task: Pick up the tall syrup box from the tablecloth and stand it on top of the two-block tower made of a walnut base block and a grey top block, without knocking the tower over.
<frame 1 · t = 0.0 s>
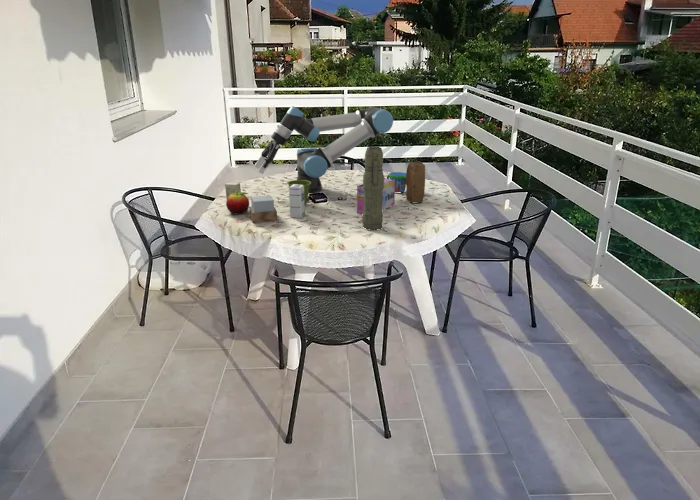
hand: (258, 170, 267), 15 cm above the table, tool tilted 35°, fingers open, 13 cm apart
base block: (263, 219, 240), on the table, touching top block
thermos: (372, 227, 229), on the table
skincare box: (234, 208, 257), on the table
syrup box: (297, 216, 245), on the table
snack cup: (397, 192, 288), on the table
plant pot: (299, 204, 263), on the table
block: (414, 201, 270), on the table
gum box: (376, 210, 256), on the table
fruit: (238, 213, 249), on the table
top block: (262, 209, 239), point 5 cm above the table, touching base block
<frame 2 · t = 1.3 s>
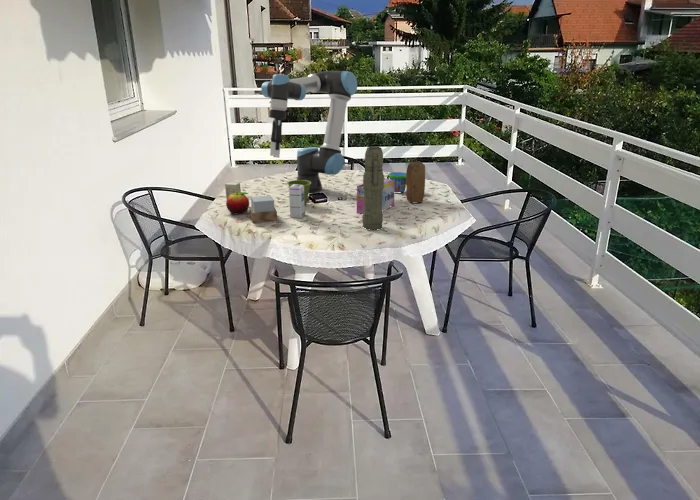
hand: (274, 156, 244), 26 cm above the table, tool pointing down, fingers open, 13 cm apart
base block: (263, 219, 240), on the table
top block: (262, 209, 239), point 5 cm above the table
everything else where it was.
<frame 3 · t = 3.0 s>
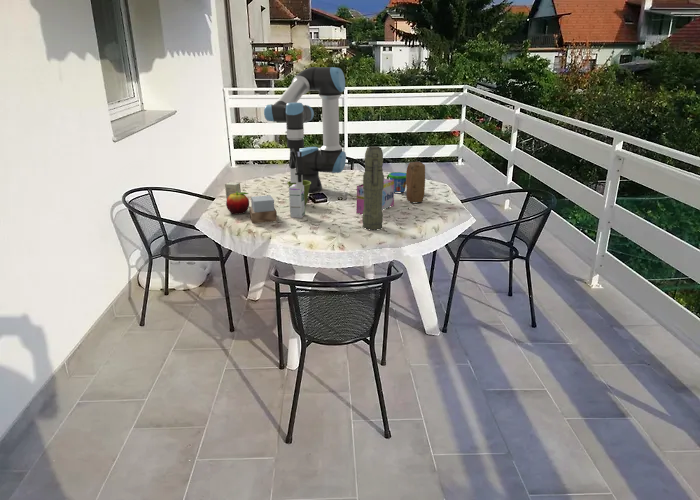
hand: (296, 185, 239), 14 cm above the table, tool pointing down, fingers open, 13 cm apart
base block: (263, 219, 240), on the table, touching top block
top block: (262, 208, 239), point 5 cm above the table, touching base block
everything else where it was.
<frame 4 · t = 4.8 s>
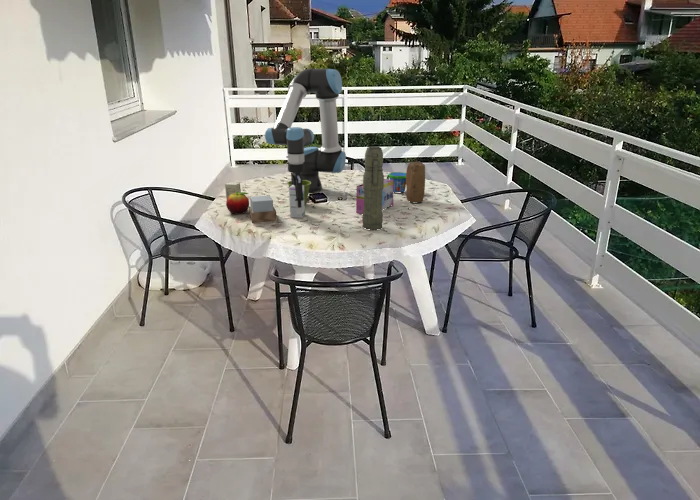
hand: (297, 211, 244), 2 cm above the table, tool pointing down, fingers closed on syrup box, 7 cm apart
syrup box: (297, 216, 245), on the table, touching gripper
everything else where it was.
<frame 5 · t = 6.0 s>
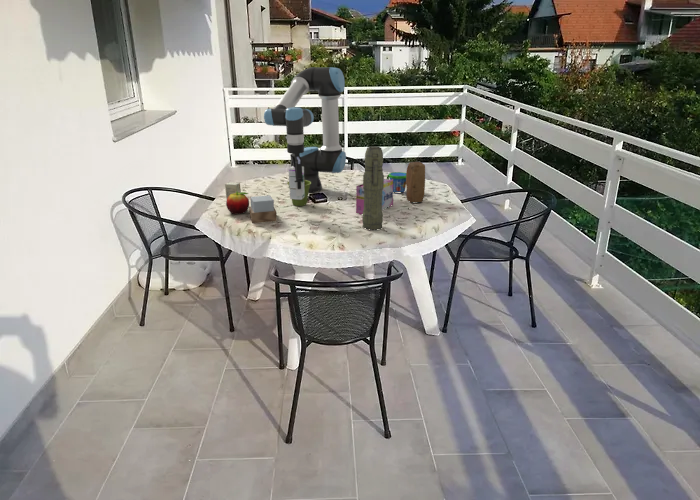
hand: (297, 193, 241), 11 cm above the table, tool pointing down, fingers closed on syrup box, 7 cm apart
syrup box: (297, 198, 242), point 8 cm above the table, touching gripper
everything else where it was.
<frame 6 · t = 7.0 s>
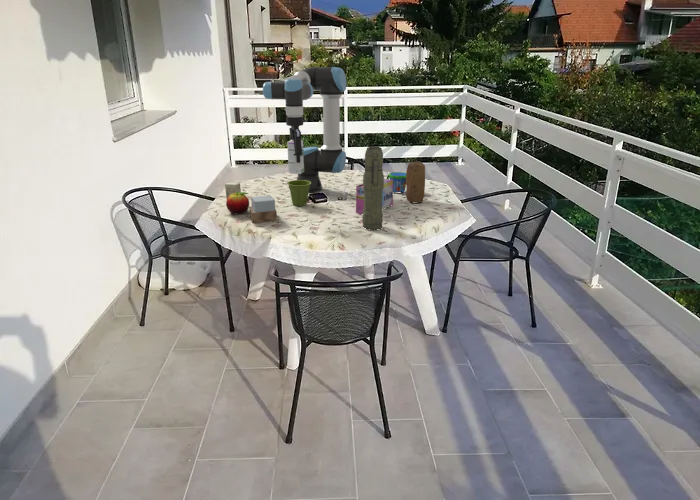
hand: (296, 167, 237), 23 cm above the table, tool pointing down, fingers closed on syrup box, 7 cm apart
base block: (263, 219, 241), on the table
syrup box: (296, 172, 238), point 20 cm above the table, touching gripper
top block: (263, 209, 239), point 5 cm above the table
everything else where it was.
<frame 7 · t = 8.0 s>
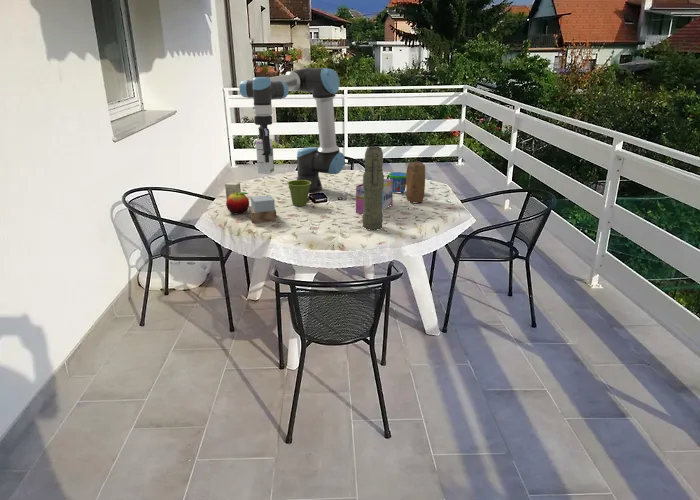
hand: (265, 167, 232), 23 cm above the table, tool pointing down, fingers closed on syrup box, 7 cm apart
syrup box: (265, 173, 233), point 21 cm above the table, touching gripper
everything else where it was.
when the fingers open (14 cm above the table, at t = 11.2 s): syrup box drops 2 cm, resting on top block.
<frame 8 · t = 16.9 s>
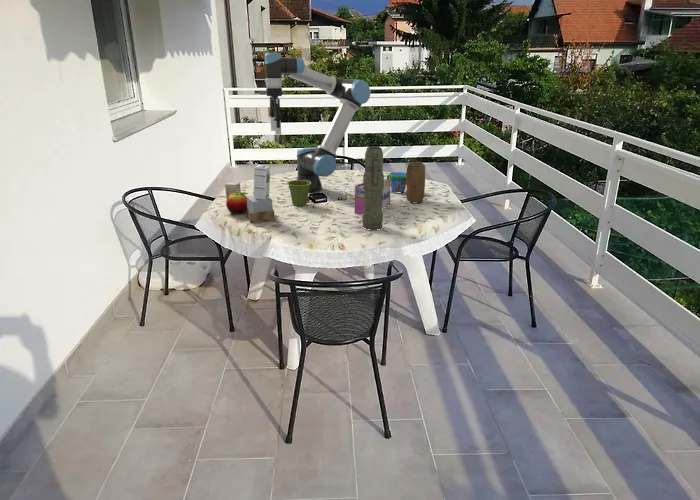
hand: (276, 132, 256), 35 cm above the table, tool pointing down, fingers open, 13 cm apart
base block: (261, 219, 241), on the table, touching top block
syrup box: (261, 198, 237), point 10 cm above the table, touching top block
top block: (259, 209, 239), point 5 cm above the table, touching base block, syrup box
at the end: syrup box inside the target area on the top block (0.8 cm from its centre), point 5.1 cm above the top block's base; top block 0.4 cm off-centre on the base block, point 5.0 cm above the base block's base; syrup box tilted 5° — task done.
